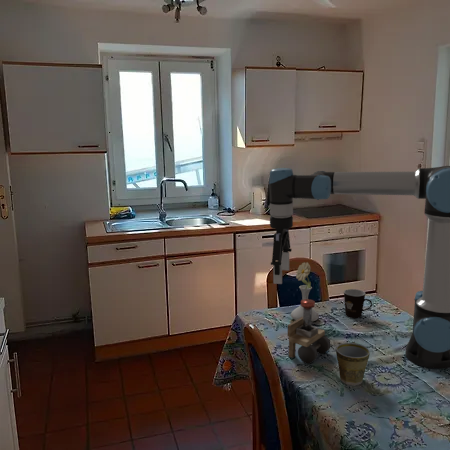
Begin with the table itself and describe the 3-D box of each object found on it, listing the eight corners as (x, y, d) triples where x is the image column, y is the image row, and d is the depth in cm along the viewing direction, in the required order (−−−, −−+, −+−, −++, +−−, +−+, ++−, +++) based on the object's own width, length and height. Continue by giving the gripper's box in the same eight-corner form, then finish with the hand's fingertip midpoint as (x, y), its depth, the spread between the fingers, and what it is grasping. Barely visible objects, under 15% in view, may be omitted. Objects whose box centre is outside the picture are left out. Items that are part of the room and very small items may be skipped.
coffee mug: (338, 312, 194) (339, 290, 192) (356, 310, 197) (357, 288, 195) (354, 323, 183) (355, 299, 181) (372, 320, 186) (374, 297, 184)
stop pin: (316, 332, 157) (317, 301, 155) (309, 337, 154) (310, 305, 152) (304, 329, 160) (305, 298, 158) (297, 333, 157) (298, 301, 154)
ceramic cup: (367, 391, 135) (369, 359, 133) (333, 385, 139) (334, 354, 137) (369, 369, 147) (370, 341, 146) (337, 365, 151) (338, 336, 149)
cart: (330, 353, 159) (331, 321, 157) (313, 366, 150) (313, 333, 148) (305, 344, 165) (306, 314, 163) (287, 357, 156) (287, 325, 154)
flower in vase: (289, 313, 194) (290, 256, 189) (316, 314, 193) (318, 256, 189) (292, 326, 181) (293, 265, 176) (321, 326, 181) (323, 265, 176)
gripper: (277, 207, 164) (278, 264, 169) (261, 223, 141) (262, 288, 146) (298, 208, 162) (298, 265, 167) (285, 224, 139) (286, 290, 144)
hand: (281, 276), depth 157 cm, fingers open, 13 cm apart
